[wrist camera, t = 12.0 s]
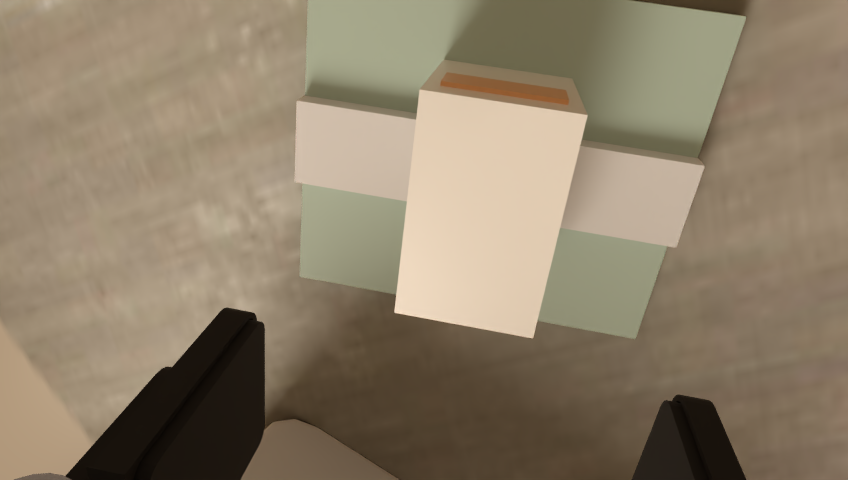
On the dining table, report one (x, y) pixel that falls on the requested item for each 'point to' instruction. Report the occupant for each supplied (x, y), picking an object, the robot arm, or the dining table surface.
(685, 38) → the rail board
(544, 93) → the block
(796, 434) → the dining table surface
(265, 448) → the grey rounded block
